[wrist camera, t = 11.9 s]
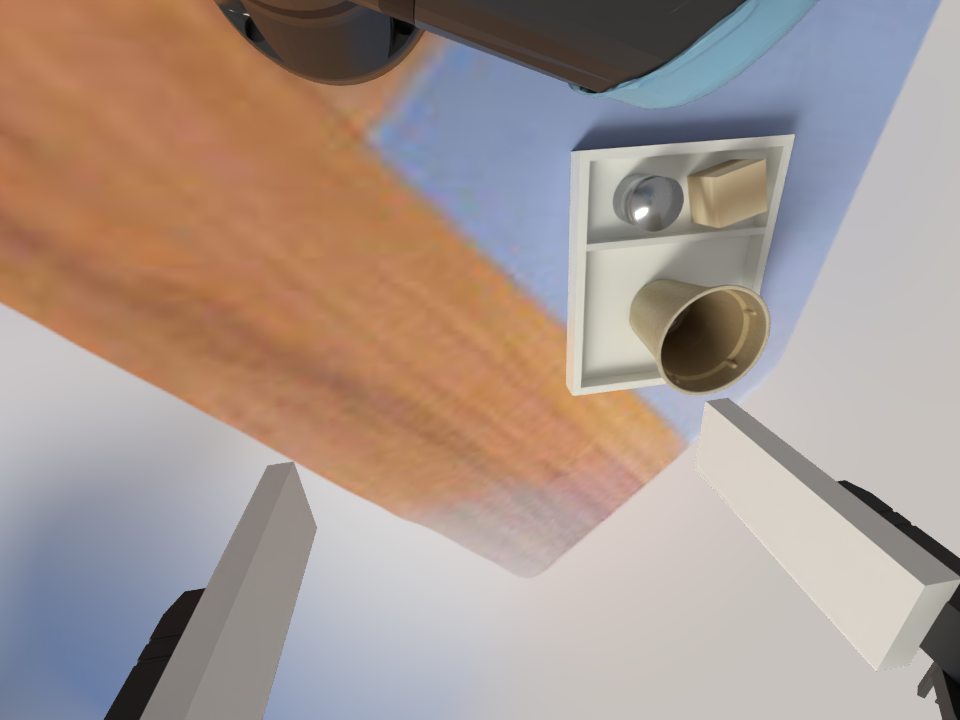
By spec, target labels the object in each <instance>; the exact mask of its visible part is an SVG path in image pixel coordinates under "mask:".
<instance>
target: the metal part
mask: <svg viewBox="0 0 960 720" xmlns="http://www.w3.org/2000/svg"><path fill="white" fill-rule="evenodd" d="M683 203H684V194H683V190H682V187H681V186H680V184H679V183H678V182H677V181H676V180H674V179H672V178H669V177H663V176H656V175H650V174H644V173H635V174H632V175H630V176H628V177H626V178H625V179H624V180H622V181H621V183H620V184H619V185H618V187H617V188H616V190H615V193H614V196H613V209H614V212H615V214H616V216H617V217H618V218H619V219H620V220H622V221H624V222H627V223H629V224H632V225H634V226H637V227H639V228H642V229H645V230H647V231H652V232H655V231H661V230H663V229H665V228H667V227H669V226H670V225H671V224H672V223H673V222H674V221H675V220H676V219H677V218H678V216H679V214H680V212H681V210H682V207H683Z"/></svg>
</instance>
